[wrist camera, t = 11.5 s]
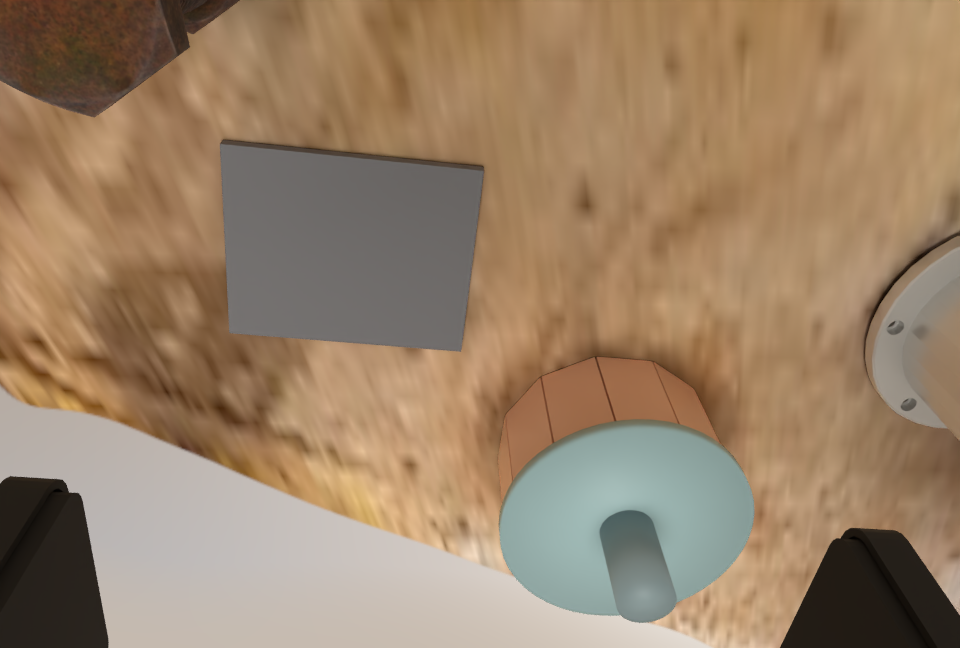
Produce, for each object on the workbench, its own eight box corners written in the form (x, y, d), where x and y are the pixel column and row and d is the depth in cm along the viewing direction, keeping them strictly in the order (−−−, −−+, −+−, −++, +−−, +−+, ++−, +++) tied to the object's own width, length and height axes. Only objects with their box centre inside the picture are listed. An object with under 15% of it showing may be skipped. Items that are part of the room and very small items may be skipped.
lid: (782, 428, 37) (829, 506, 33) (710, 609, 44) (741, 694, 39) (518, 409, 36) (528, 487, 32) (484, 598, 43) (489, 685, 38)
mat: (483, 166, 36) (484, 170, 36) (460, 345, 41) (461, 351, 41) (223, 139, 35) (219, 143, 35) (232, 327, 40) (229, 332, 40)
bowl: (729, 367, 43) (768, 435, 38) (676, 524, 49) (703, 602, 44) (516, 350, 42) (526, 417, 36) (488, 513, 48) (493, 591, 42)
